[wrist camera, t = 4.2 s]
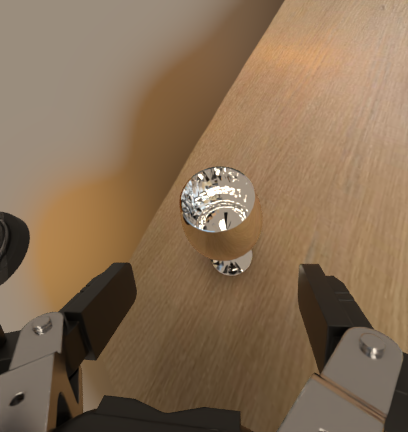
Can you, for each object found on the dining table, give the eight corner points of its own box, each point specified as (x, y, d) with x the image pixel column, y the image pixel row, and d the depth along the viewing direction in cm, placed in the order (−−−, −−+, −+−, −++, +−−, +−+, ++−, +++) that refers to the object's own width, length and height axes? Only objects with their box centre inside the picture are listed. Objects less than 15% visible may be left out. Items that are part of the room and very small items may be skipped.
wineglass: (256, 286, 23) (261, 247, 12) (200, 278, 24) (160, 236, 14) (260, 232, 25) (267, 160, 15) (209, 227, 27) (181, 158, 16)
